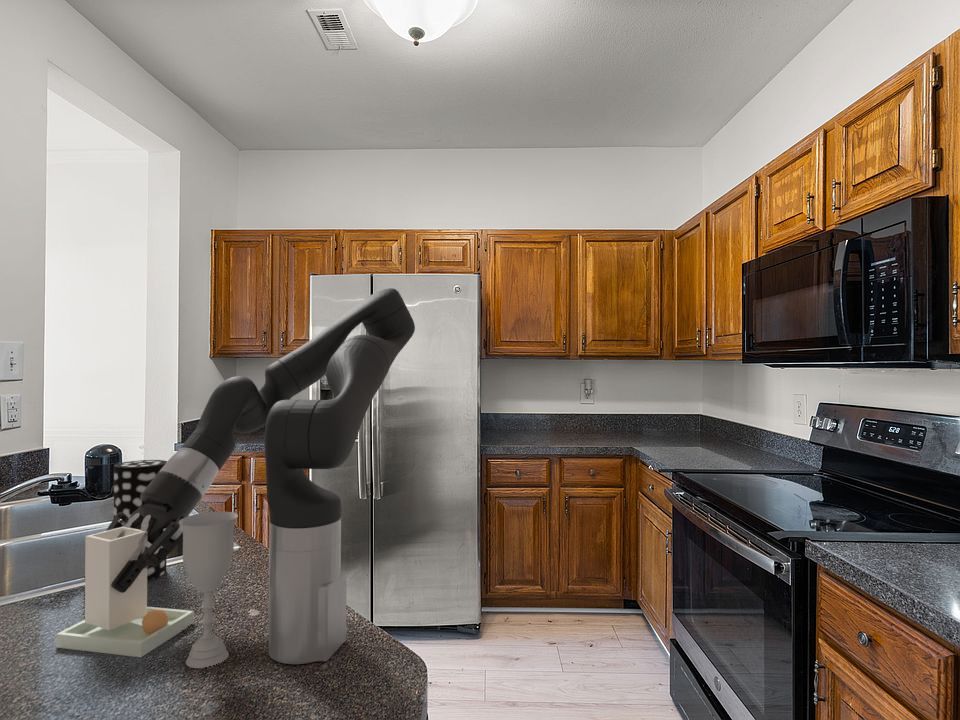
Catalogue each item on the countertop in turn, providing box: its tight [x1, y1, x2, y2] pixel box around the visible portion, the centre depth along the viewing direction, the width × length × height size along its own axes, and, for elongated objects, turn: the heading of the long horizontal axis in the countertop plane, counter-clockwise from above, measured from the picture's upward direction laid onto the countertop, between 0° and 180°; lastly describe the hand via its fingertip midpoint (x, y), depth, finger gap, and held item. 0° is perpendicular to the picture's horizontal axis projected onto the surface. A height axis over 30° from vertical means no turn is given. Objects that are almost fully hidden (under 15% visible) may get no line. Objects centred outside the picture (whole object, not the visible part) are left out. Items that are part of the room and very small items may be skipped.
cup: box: [84, 527, 148, 630], centre depth 83 cm, size 5×5×12 cm
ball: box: [142, 609, 168, 635], centre depth 81 cm, size 3×3×3 cm
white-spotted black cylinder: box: [113, 459, 168, 581], centre depth 105 cm, size 8×8×20 cm
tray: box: [55, 606, 195, 658], centre depth 82 cm, size 13×10×2 cm
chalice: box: [178, 511, 239, 669], centre depth 76 cm, size 7×7×18 cm
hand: (103, 585), depth 81 cm, fingers closed on cup, 5 cm apart
